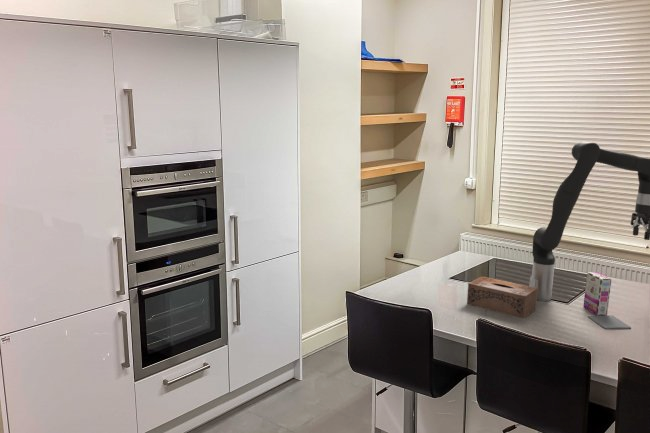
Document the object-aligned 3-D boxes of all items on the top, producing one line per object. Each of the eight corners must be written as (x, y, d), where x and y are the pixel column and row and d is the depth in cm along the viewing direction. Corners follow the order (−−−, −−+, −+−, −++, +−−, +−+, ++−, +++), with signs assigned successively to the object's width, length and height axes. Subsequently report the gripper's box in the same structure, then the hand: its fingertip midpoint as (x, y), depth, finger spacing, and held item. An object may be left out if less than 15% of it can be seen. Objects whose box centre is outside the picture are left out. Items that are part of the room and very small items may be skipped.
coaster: (604, 328, 223) (604, 327, 223) (587, 316, 235) (587, 315, 235) (630, 328, 223) (631, 327, 223) (612, 316, 236) (613, 315, 236)
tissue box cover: (466, 304, 249) (468, 283, 247) (480, 296, 260) (481, 276, 258) (523, 318, 233) (525, 296, 231) (535, 309, 244) (537, 288, 242)
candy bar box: (607, 315, 237) (612, 279, 234) (596, 315, 237) (601, 279, 234) (593, 306, 248) (597, 271, 245) (582, 306, 248) (586, 271, 245)
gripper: (628, 200, 259) (624, 234, 262) (647, 205, 245) (642, 241, 248) (643, 200, 259) (639, 234, 262) (663, 205, 245) (658, 241, 248)
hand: (640, 237), depth 255 cm, fingers open, 8 cm apart
